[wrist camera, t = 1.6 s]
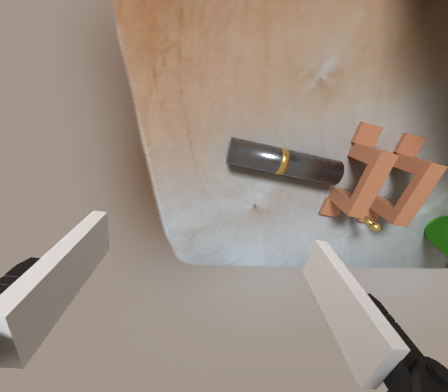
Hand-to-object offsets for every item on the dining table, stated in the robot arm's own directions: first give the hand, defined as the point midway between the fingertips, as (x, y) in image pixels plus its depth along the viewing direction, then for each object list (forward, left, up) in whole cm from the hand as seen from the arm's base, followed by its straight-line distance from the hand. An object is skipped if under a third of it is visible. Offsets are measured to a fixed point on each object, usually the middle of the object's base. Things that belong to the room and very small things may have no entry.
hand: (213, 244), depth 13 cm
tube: (-2, +9, -20) cm, 22 cm away
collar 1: (-2, +20, -20) cm, 28 cm away
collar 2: (-2, +27, -20) cm, 34 cm away
